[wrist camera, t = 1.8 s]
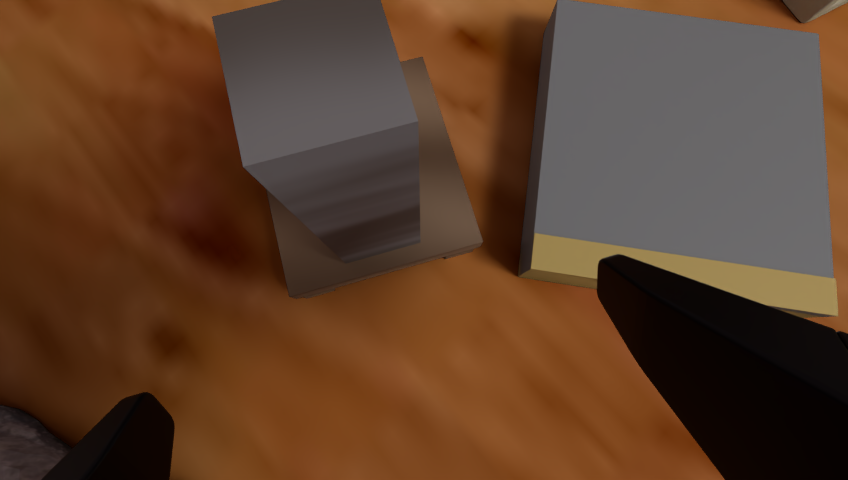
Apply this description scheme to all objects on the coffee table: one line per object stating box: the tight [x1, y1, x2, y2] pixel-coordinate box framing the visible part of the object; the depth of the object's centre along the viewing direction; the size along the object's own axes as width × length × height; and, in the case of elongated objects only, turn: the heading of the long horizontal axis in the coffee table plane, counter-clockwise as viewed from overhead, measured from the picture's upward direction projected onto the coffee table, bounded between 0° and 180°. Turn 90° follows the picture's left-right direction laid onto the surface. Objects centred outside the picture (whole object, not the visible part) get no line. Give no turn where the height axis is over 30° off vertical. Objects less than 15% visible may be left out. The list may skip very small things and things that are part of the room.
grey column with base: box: [212, 0, 483, 299], centre depth 15 cm, size 10×9×13 cm
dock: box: [518, 0, 838, 318], centre depth 21 cm, size 14×13×3 cm
